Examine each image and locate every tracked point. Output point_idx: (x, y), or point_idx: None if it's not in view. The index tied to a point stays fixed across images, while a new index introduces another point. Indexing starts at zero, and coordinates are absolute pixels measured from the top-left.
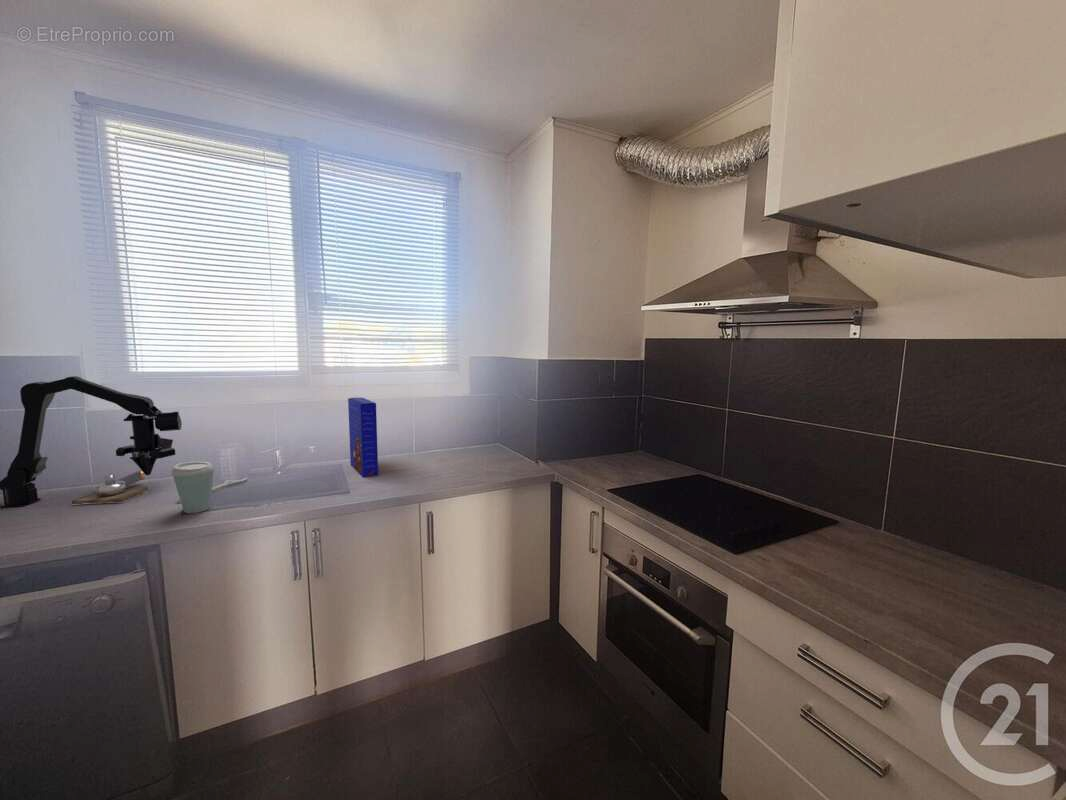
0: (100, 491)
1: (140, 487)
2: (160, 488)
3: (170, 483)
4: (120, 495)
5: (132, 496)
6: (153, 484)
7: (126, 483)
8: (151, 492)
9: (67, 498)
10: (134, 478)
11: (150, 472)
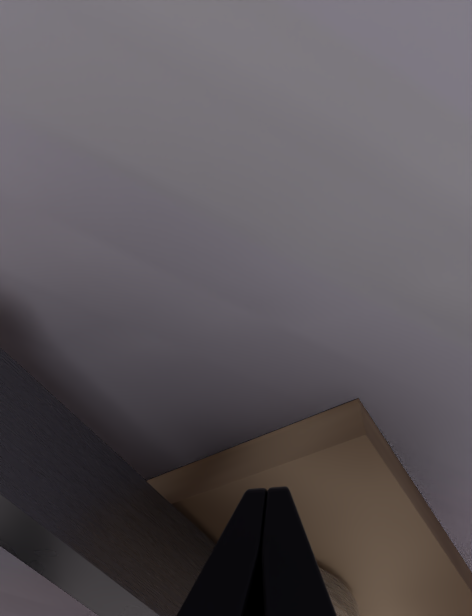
0: None
1: (306, 464)
2: (395, 301)
3: (282, 105)
4: (397, 607)
5: (454, 552)
6: (117, 237)
7: (170, 543)
8: (446, 411)
9: (14, 606)
10: (61, 472)
11: (300, 526)
